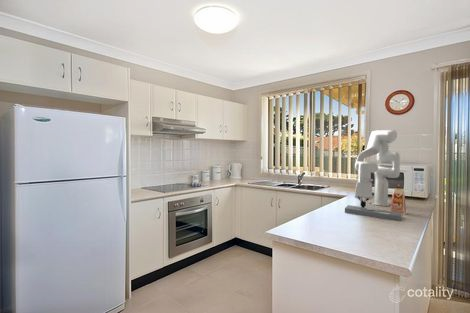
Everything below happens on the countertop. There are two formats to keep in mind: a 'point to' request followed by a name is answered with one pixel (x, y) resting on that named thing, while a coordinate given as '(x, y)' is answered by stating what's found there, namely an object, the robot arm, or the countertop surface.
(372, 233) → the countertop surface
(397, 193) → the milk carton
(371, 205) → the fader
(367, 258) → the countertop surface
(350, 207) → the bar
